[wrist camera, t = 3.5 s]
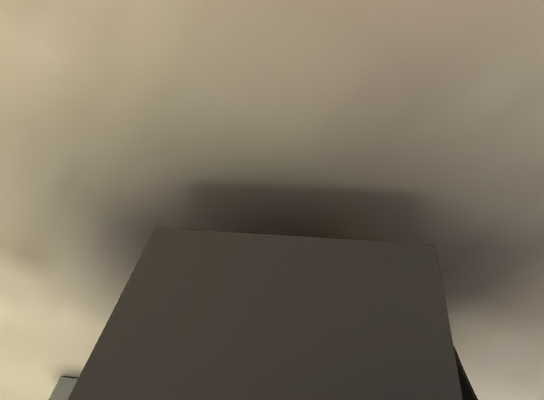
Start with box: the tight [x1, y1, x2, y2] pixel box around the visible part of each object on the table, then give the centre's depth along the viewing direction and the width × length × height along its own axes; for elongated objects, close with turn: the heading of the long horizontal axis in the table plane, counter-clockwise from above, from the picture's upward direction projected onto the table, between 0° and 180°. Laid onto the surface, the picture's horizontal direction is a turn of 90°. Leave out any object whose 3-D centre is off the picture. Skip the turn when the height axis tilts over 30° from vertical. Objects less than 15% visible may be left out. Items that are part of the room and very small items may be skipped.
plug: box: [68, 227, 463, 400], centre depth 11 cm, size 5×6×6 cm
